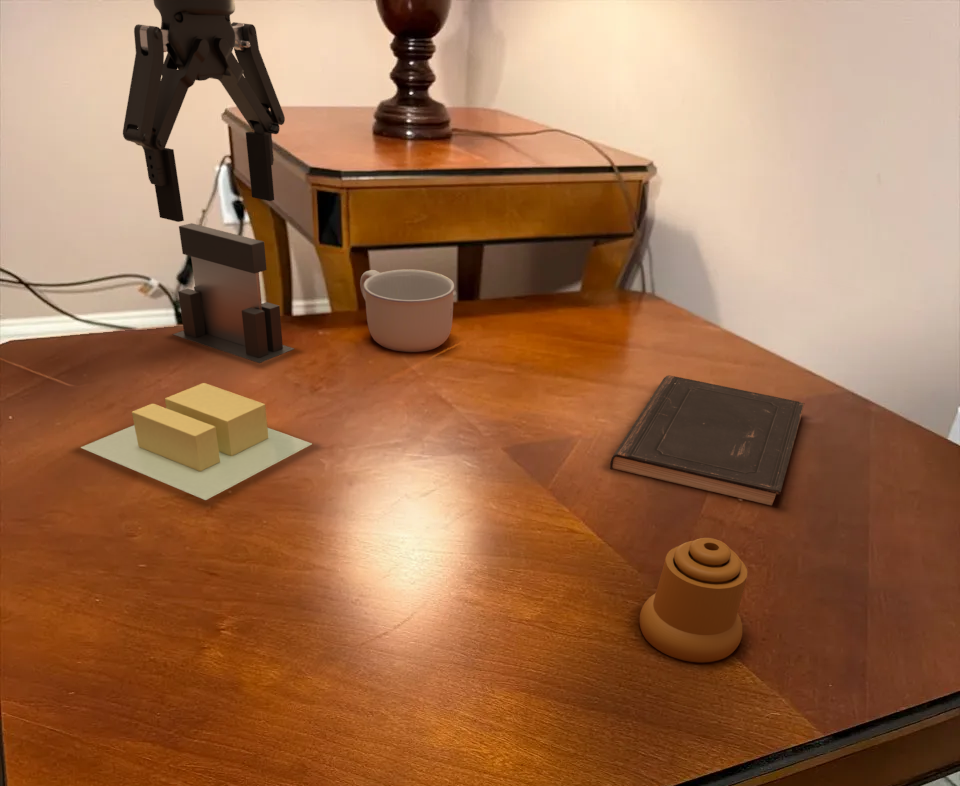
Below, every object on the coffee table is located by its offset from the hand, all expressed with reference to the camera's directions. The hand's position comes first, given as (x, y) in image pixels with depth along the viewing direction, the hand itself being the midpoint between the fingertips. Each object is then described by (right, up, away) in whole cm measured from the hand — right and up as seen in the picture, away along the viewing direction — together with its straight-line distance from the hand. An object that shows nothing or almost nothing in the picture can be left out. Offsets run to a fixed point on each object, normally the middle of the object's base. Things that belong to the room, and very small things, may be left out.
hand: (219, 208), depth 94 cm
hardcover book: (+53, -27, -3) cm, 59 cm away
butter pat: (0, -30, -14) cm, 33 cm away
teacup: (+19, -10, +15) cm, 26 cm away
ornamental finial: (+44, -47, -30) cm, 71 cm away
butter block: (+3, -27, -11) cm, 29 cm away
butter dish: (+2, -29, -12) cm, 32 cm away
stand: (-1, -12, +10) cm, 16 cm away
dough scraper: (-1, -11, +9) cm, 15 cm away
